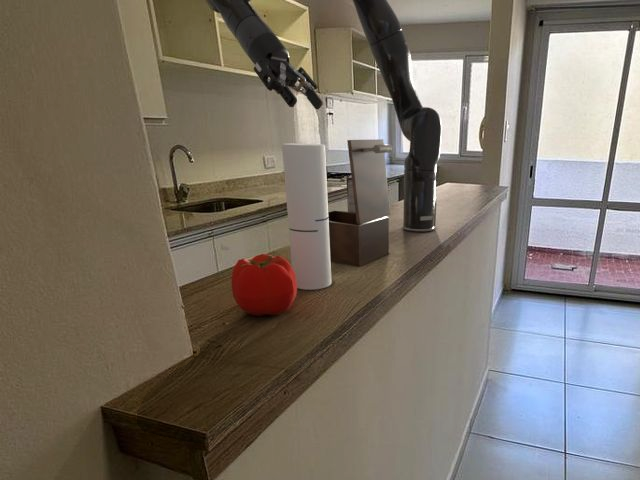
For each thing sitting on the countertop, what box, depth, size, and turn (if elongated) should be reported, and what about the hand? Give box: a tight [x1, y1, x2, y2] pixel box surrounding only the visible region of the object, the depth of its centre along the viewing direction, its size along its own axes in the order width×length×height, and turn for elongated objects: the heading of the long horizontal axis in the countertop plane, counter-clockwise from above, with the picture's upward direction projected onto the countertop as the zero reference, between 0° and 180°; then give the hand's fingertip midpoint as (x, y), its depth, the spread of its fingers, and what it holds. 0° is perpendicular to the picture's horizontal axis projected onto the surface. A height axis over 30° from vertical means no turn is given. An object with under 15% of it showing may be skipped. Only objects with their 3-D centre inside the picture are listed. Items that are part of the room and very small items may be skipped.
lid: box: [347, 139, 393, 224], centre depth 95 cm, size 16×13×5 cm
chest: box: [328, 209, 390, 267], centre depth 104 cm, size 16×13×9 cm
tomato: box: [230, 253, 298, 317], centre depth 71 cm, size 11×11×9 cm
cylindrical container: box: [281, 142, 333, 291], centre depth 81 cm, size 7×7×25 cm
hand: (307, 105), depth 97 cm, fingers open, 8 cm apart
